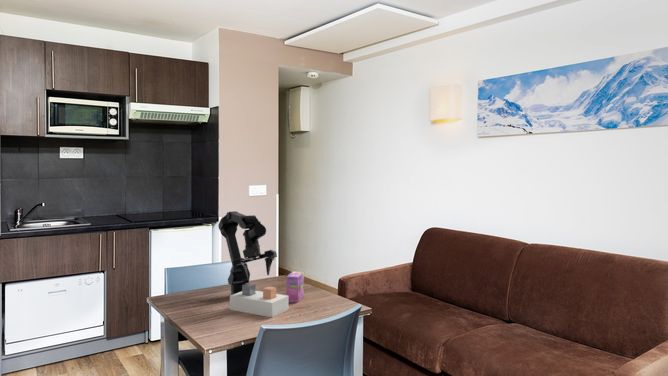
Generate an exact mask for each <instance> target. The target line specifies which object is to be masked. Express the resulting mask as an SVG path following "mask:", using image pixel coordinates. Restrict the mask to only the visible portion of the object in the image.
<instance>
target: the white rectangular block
mask: <svg viewBox="0 0 668 376" xmlns="http://www.w3.org/2000/svg"><path fill="white" fill-rule="evenodd" d="M229 296H230V297H229V310H230V311H235V312H241V313H246V314H252V315H257V316H262V317H268V318H274V317H276V316H278V315H281V314H282V313H284V312H287V311H288V310H290V307H289V303H290V302H289V296H287V295H286V294H280V293H276V298H274V299H265V298H263V291H261V290H255V294H254V295H251V296H246V295H242V291H241V292H239V293H236V294H233V295H231V294H230V295H229Z"/></svg>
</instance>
